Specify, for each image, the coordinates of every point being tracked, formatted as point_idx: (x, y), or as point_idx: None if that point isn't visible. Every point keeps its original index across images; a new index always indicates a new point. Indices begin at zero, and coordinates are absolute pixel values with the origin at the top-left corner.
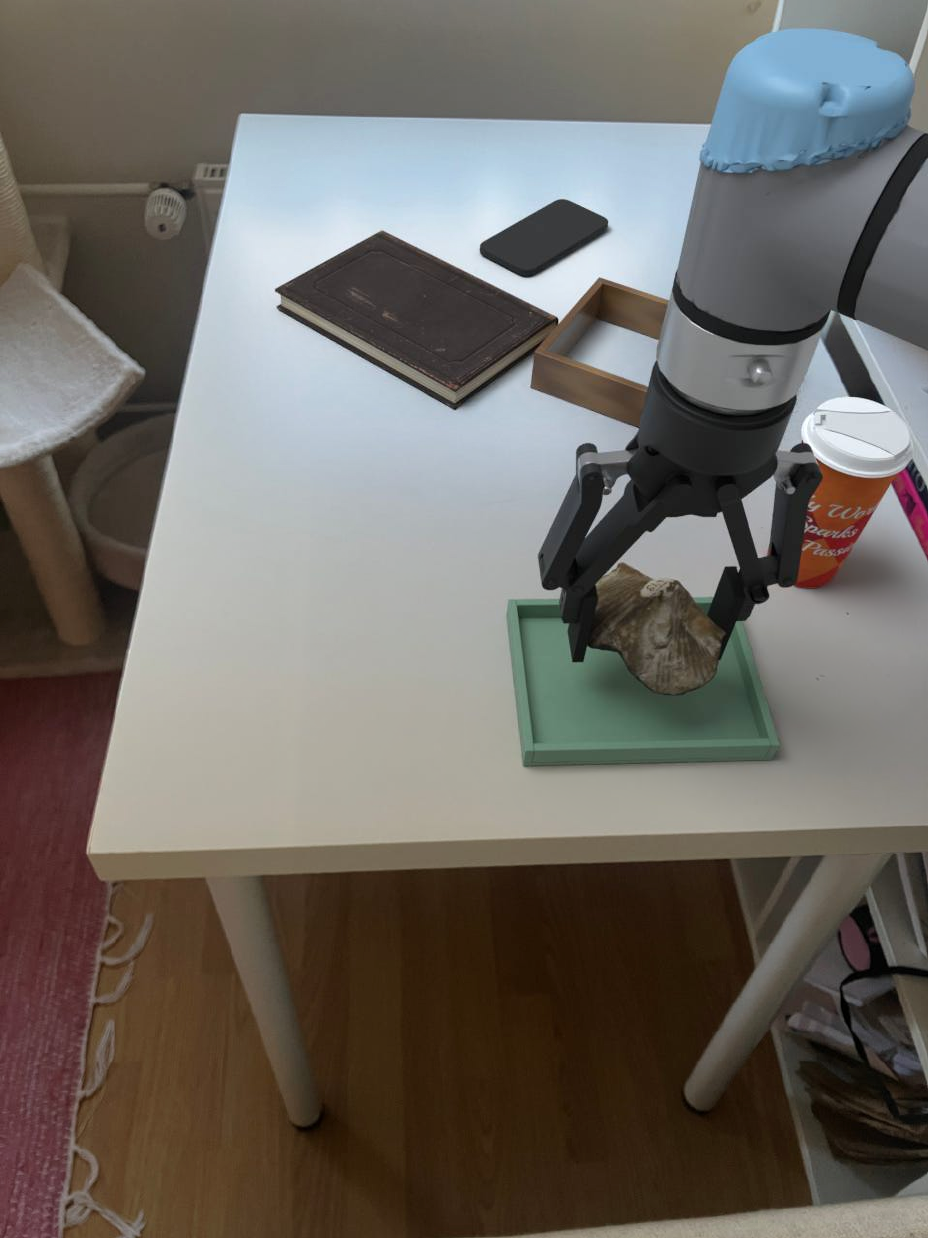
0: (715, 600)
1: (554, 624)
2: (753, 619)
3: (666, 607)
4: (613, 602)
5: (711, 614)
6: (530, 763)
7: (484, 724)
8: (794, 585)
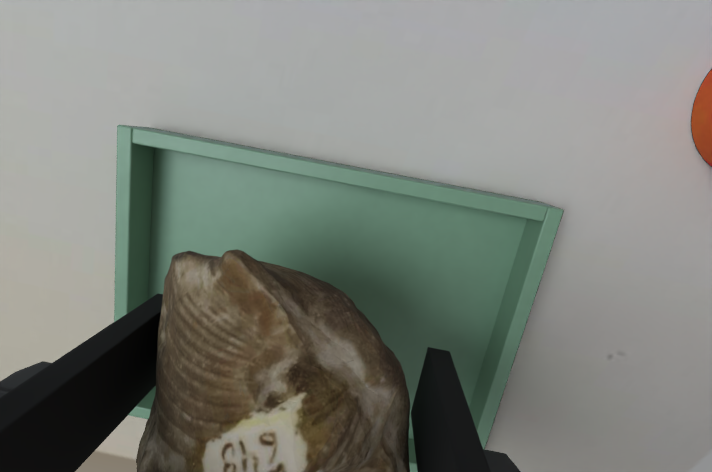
0: (443, 439)
1: (219, 172)
2: (578, 225)
3: None
4: (169, 388)
5: (433, 411)
6: None
7: (96, 318)
8: (710, 164)
